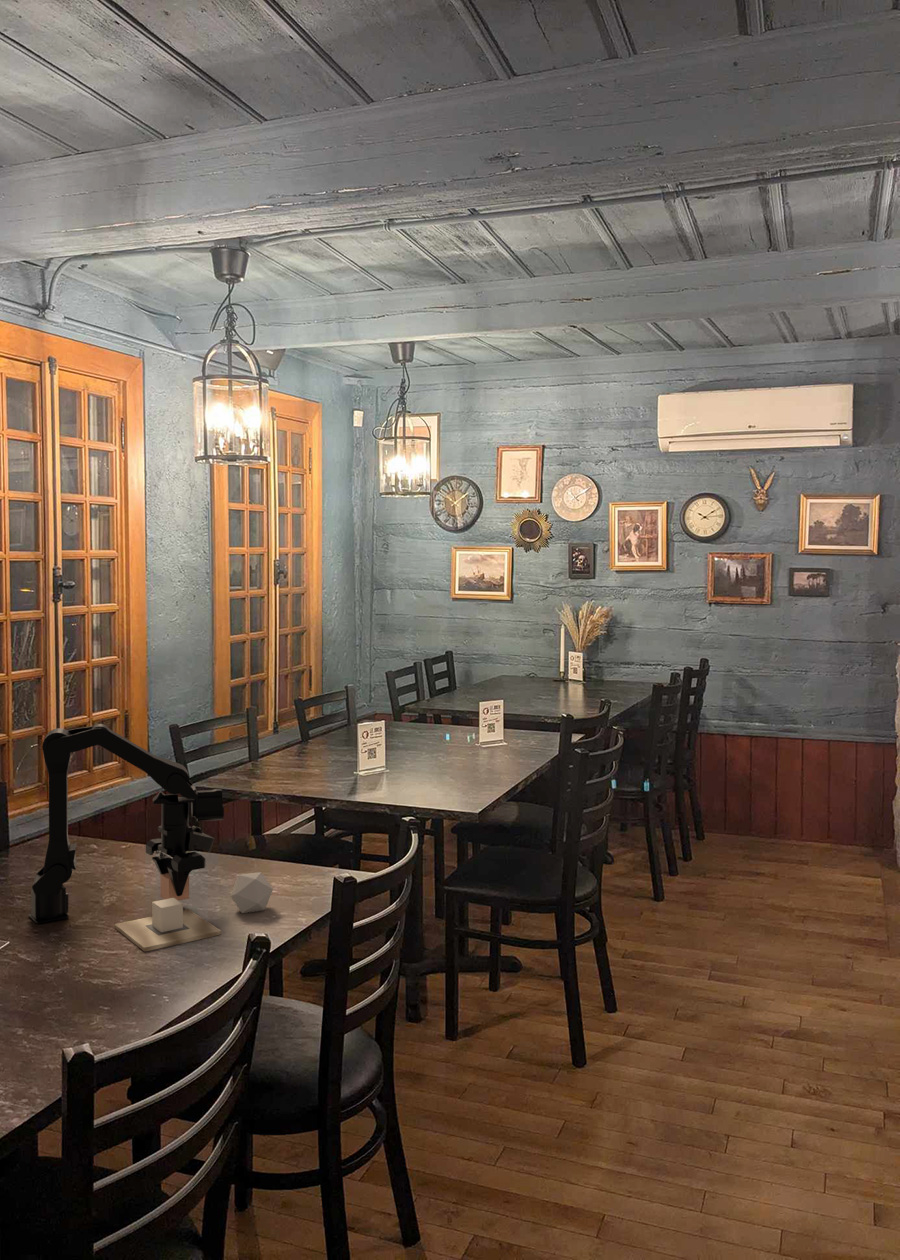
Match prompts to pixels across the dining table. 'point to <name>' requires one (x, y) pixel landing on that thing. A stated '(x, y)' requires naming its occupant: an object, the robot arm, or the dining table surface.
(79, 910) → the dining table surface
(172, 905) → the cream block
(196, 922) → the tan board
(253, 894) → the die
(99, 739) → the robot arm
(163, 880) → the terracotta block
